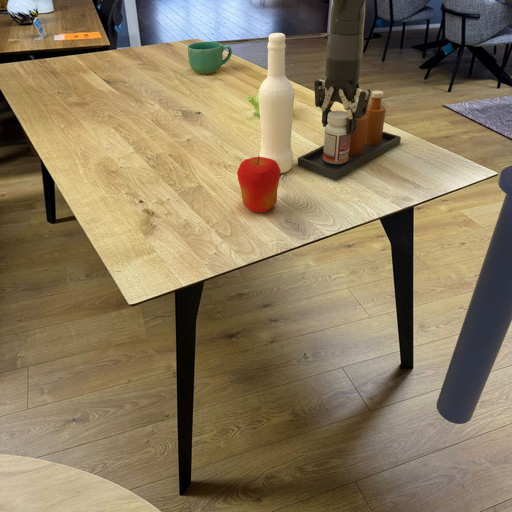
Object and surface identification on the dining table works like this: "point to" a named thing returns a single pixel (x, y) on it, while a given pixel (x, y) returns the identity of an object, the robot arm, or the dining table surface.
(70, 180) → the dining table surface
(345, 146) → the pill bottle
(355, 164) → the tray
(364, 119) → the amber bottle near
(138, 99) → the dining table surface
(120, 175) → the dining table surface
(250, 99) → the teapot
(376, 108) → the amber bottle far
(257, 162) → the apple
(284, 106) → the bottle
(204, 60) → the mug
